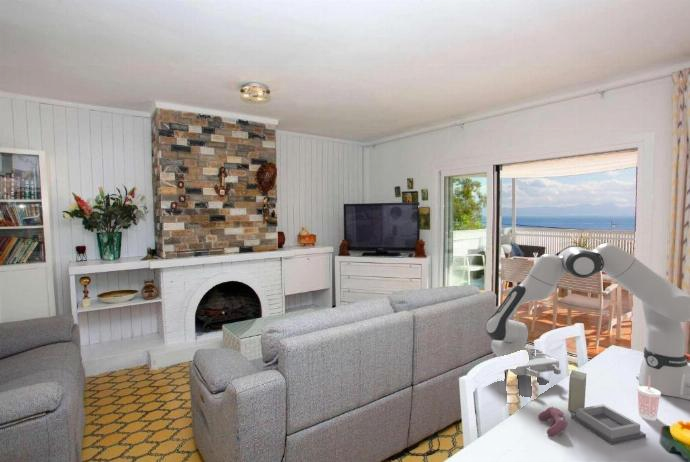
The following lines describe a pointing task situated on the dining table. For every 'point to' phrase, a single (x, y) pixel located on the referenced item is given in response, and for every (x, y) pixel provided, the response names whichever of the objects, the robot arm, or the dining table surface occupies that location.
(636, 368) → the dining table surface
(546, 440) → the dining table surface
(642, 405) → the beverage cup
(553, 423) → the video game controller
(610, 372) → the dining table surface
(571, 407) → the skincare box
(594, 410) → the socket dock
